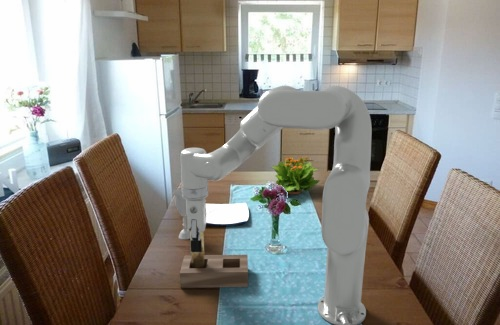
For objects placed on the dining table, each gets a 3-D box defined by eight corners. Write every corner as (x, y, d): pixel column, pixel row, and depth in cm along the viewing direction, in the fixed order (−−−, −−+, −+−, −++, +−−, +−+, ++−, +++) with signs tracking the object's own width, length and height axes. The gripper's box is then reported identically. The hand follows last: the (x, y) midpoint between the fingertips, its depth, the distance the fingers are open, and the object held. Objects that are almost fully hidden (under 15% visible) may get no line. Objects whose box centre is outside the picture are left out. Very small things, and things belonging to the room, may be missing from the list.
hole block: (248, 286, 118) (247, 271, 116) (180, 287, 118) (179, 272, 116) (247, 268, 127) (247, 254, 126) (185, 269, 127) (184, 255, 126)
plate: (197, 229, 156) (197, 222, 155) (202, 208, 175) (201, 202, 174) (249, 228, 156) (249, 221, 156) (248, 207, 176) (248, 202, 175)
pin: (203, 267, 119) (202, 231, 116) (190, 267, 119) (188, 231, 116) (205, 260, 123) (203, 225, 120) (192, 260, 123) (190, 225, 120)
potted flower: (259, 186, 201) (259, 153, 196) (299, 179, 211) (300, 147, 206) (284, 203, 180) (284, 166, 175) (327, 195, 189) (329, 159, 184)
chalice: (186, 230, 154) (184, 186, 149) (198, 235, 150) (196, 190, 145) (171, 237, 148) (168, 192, 143) (184, 242, 144) (181, 196, 139)
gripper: (205, 201, 106) (207, 262, 112) (210, 181, 122) (211, 234, 128) (177, 202, 106) (180, 262, 111) (185, 181, 122) (188, 234, 127)
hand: (197, 247), depth 119 cm, fingers closed on pin, 4 cm apart
